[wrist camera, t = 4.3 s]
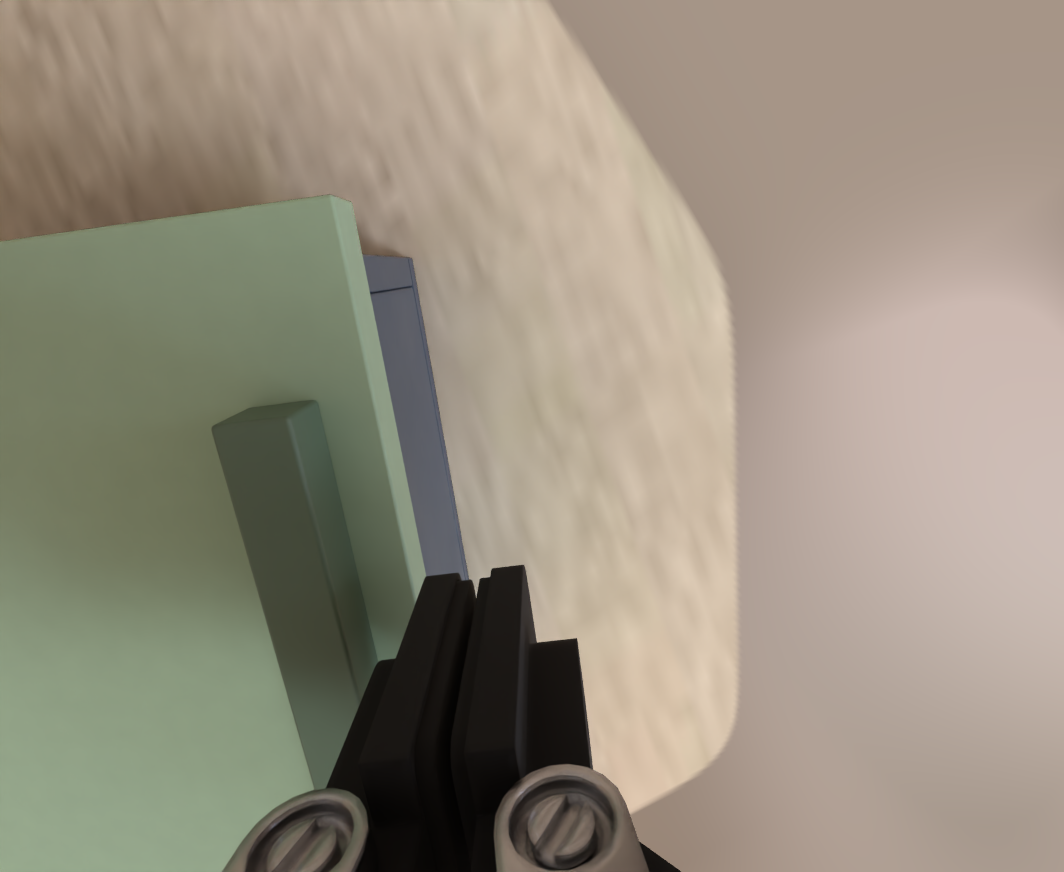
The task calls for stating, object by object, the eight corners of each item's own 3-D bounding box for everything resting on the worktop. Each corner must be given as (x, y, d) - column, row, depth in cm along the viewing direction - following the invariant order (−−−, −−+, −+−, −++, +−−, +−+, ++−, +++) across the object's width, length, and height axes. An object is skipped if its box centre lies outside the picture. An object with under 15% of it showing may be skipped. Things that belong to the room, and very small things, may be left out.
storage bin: (-33, 318, 18) (-427, 354, 11) (412, 257, 17) (320, 250, 10) (112, 696, 22) (-106, 916, 14) (482, 656, 21) (454, 865, 14)
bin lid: (-486, 319, 10) (-748, 332, 8) (352, 200, 10) (301, 182, 8) (-122, 940, 14) (-234, 1055, 12) (488, 886, 14) (479, 998, 12)
